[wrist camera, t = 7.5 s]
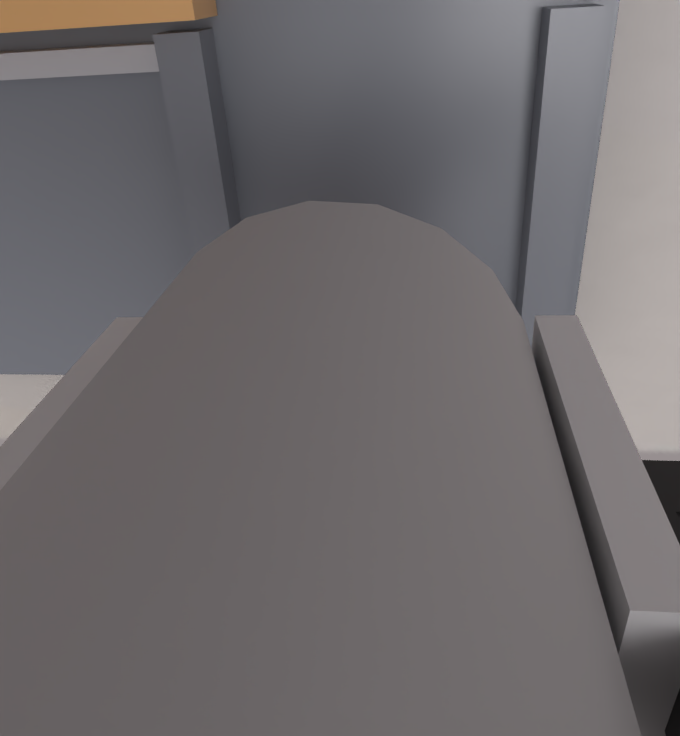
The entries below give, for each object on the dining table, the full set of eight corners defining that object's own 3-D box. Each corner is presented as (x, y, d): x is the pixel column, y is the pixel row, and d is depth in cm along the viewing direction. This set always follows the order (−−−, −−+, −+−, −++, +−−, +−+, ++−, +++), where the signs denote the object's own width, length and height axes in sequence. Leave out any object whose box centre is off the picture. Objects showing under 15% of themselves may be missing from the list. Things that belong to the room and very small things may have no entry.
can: (126, 406, 15) (-520, 1339, 5) (256, 105, 11) (-1693, 1601, 1) (404, 538, 16) (368, 1509, 6) (606, 308, 12) (1491, 1929, 2)
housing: (632, -154, 18) (660, -170, 16) (561, 365, 27) (572, 398, 25) (-294, -67, 22) (-369, -71, 20) (-89, 362, 31) (-126, 390, 29)
